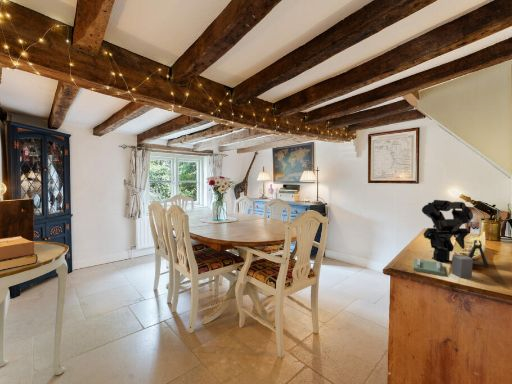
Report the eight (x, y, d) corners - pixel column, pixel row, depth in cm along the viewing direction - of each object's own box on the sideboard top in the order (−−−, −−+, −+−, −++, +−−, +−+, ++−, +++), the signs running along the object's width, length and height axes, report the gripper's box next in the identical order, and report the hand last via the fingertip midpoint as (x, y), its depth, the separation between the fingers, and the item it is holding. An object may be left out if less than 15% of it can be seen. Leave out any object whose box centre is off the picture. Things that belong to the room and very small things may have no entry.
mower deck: (442, 265, 126) (442, 260, 126) (444, 276, 114) (444, 269, 113) (414, 261, 133) (414, 256, 133) (413, 270, 120) (413, 264, 120)
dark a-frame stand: (465, 262, 131) (466, 240, 130) (465, 260, 136) (466, 238, 135) (488, 266, 125) (490, 243, 124) (487, 263, 130) (489, 241, 129)
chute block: (462, 273, 116) (463, 254, 116) (471, 277, 112) (472, 258, 111) (451, 273, 116) (452, 254, 116) (460, 278, 111) (461, 258, 111)
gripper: (427, 212, 124) (440, 239, 113) (467, 212, 122) (484, 240, 112) (418, 224, 132) (430, 251, 122) (455, 224, 130) (470, 251, 120)
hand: (453, 248), depth 119 cm, fingers open, 9 cm apart
